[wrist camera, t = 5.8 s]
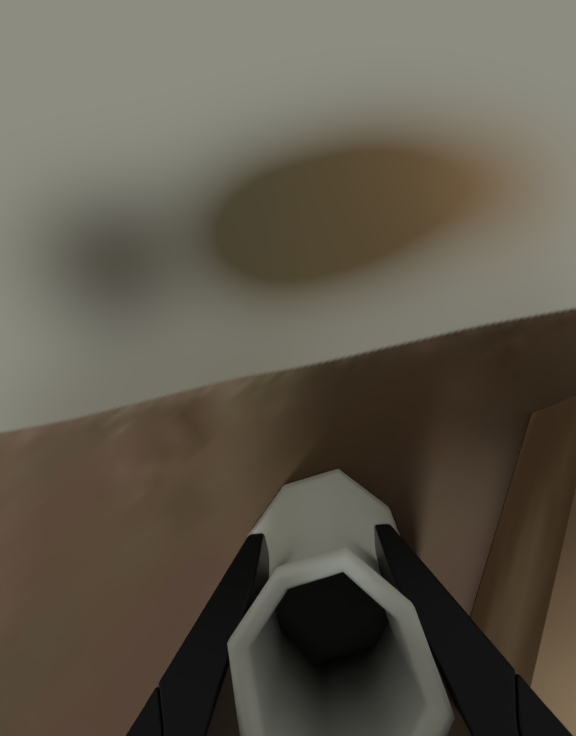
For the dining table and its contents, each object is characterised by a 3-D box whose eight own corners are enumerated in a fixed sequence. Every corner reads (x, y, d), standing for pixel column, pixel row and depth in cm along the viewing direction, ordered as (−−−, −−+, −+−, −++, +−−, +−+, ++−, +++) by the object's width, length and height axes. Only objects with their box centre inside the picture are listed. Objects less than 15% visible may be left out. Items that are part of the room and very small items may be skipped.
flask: (340, 443, 15) (364, 367, 6) (446, 584, 12) (774, 822, 3) (224, 529, 14) (49, 586, 5) (309, 703, 11) (248, 1512, 2)
